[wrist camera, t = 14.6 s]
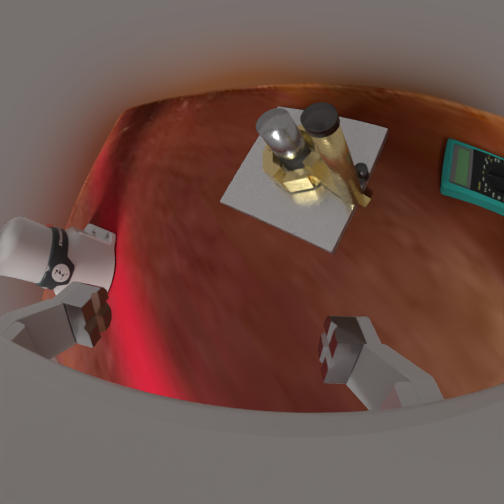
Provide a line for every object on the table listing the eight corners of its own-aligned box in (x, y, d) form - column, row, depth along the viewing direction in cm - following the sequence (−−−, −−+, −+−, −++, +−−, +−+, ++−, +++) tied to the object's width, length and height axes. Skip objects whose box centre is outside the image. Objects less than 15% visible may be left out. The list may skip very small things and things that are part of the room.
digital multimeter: (536, 235, 18) (545, 226, 16) (437, 195, 26) (440, 182, 24) (537, 184, 19) (545, 172, 16) (445, 147, 27) (447, 133, 24)
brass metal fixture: (259, 172, 37) (199, 111, 26) (297, 129, 36) (251, 59, 25) (338, 229, 29) (297, 162, 18) (382, 175, 28) (363, 88, 17)
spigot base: (224, 204, 40) (179, 172, 32) (280, 111, 40) (251, 68, 32) (345, 260, 30) (323, 230, 21) (399, 137, 30) (392, 81, 21)
